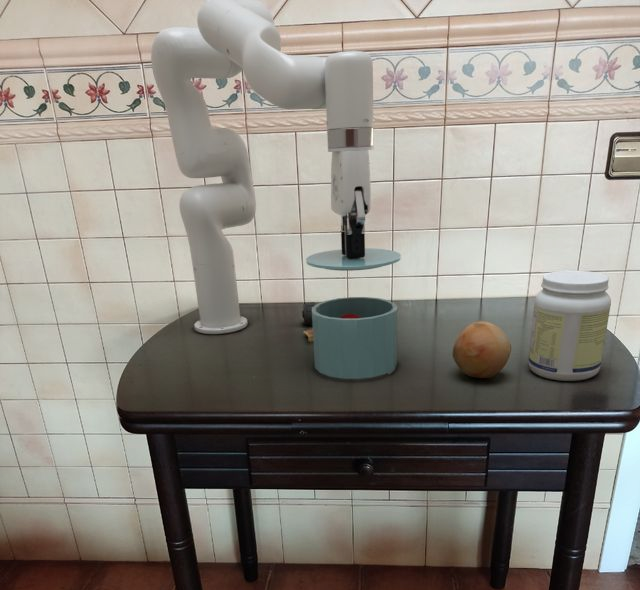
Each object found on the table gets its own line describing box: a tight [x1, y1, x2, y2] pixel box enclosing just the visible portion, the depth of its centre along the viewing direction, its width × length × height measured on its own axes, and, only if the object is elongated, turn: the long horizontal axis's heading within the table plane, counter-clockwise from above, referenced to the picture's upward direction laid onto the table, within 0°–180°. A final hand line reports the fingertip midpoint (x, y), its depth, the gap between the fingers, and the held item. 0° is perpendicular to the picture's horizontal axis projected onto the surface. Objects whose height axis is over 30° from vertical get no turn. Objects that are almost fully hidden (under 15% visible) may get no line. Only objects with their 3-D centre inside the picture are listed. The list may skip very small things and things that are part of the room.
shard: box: [303, 328, 314, 343], centre depth 128 cm, size 11×8×2 cm
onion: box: [452, 320, 512, 379], centre depth 105 cm, size 10×10×10 cm
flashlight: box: [301, 301, 319, 326], centre depth 140 cm, size 15×5×5 cm, turn 92°
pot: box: [312, 296, 398, 380], centre depth 112 cm, size 16×16×12 cm
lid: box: [305, 224, 402, 272], centre depth 104 cm, size 17×17×7 cm
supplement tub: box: [527, 270, 612, 382], centre depth 104 cm, size 12×12×17 cm
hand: (353, 255), depth 105 cm, fingers closed on lid, 2 cm apart
